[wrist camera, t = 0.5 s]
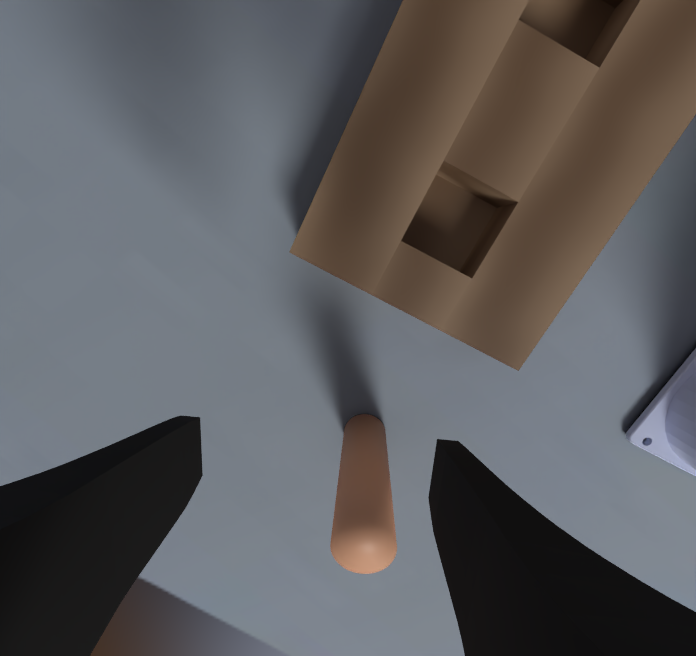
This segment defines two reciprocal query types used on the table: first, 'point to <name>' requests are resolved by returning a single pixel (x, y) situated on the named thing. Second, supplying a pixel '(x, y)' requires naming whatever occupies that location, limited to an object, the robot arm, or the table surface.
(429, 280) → the bore block
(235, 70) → the table surface
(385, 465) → the pin
